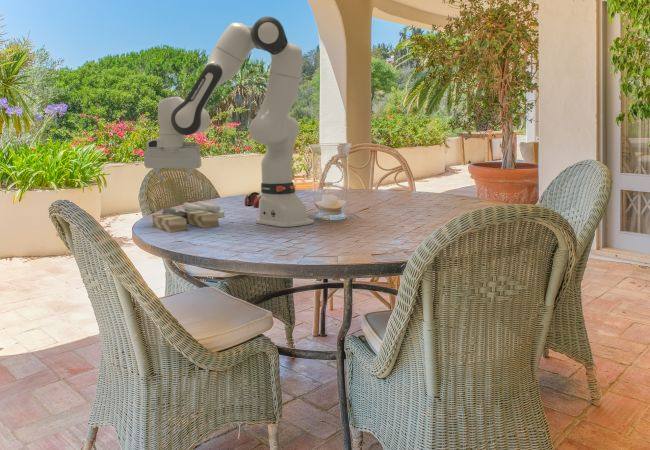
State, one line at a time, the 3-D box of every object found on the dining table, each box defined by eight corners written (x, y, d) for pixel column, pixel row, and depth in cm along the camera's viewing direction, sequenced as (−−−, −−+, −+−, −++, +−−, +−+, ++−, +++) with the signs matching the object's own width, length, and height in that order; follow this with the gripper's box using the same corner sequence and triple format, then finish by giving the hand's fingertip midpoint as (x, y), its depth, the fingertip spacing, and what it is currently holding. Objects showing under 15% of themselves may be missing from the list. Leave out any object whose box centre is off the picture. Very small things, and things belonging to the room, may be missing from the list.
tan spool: (218, 225, 202) (218, 214, 201) (170, 232, 191) (169, 220, 191) (199, 220, 215) (198, 210, 214) (153, 226, 204) (152, 215, 203)
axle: (187, 224, 208) (187, 211, 208) (174, 224, 205) (174, 210, 205) (174, 220, 218) (175, 207, 217) (161, 220, 215) (162, 207, 214)
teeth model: (256, 193, 243) (242, 192, 252) (257, 208, 244) (242, 206, 253) (273, 193, 248) (258, 191, 258) (273, 207, 249) (258, 204, 258)
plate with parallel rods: (224, 216, 222) (223, 204, 221) (196, 220, 215) (195, 207, 214) (206, 212, 234) (206, 200, 234) (179, 215, 227) (178, 203, 226)
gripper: (202, 142, 206) (204, 180, 209) (147, 142, 207) (149, 179, 210) (198, 142, 200) (199, 181, 203) (141, 142, 201) (143, 181, 203)
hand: (173, 180), depth 206 cm, fingers open, 8 cm apart
